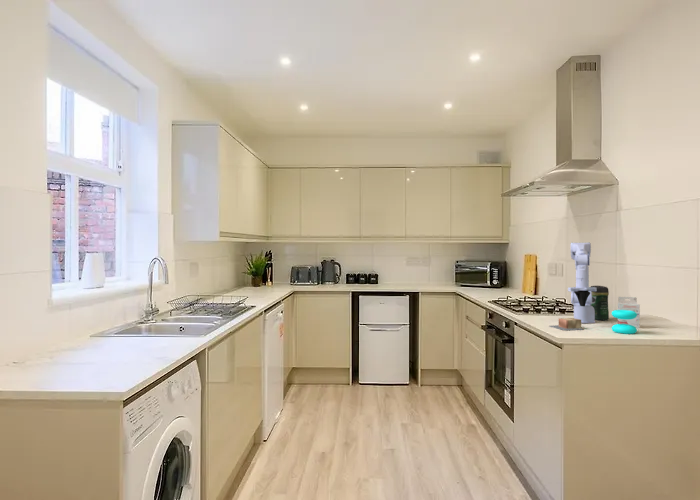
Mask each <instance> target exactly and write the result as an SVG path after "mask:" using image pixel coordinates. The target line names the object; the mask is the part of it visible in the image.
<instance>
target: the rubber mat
mask: <svg viewBox="0 0 700 500" xmlns="http://www.w3.org/2000/svg"><path fill="white" fill-rule="evenodd" d="M549 327H550V328H553V329H558V330H560V331H561V330H562V331H584V328H582V327H581V328H571V329H566V328H562V327H559V324H558V325H549Z"/></svg>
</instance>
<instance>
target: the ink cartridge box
mask: <svg viewBox="0 0 700 500" xmlns="http://www.w3.org/2000/svg"><path fill="white" fill-rule="evenodd" d="M617 298H618V300H617V310H630V311H634V312H636V313H637V316H636V318H634V319H628V320H627V319H618V318H617V324H629V325H632V326H634V327H636V329H640V324H641V323H640V316H641V315H640V312H641V309H640V305H641V304H639V303H638V302H637V301H638V300H637V298H638V297H637V296H636V297H633V296H618V297H617Z"/></svg>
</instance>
